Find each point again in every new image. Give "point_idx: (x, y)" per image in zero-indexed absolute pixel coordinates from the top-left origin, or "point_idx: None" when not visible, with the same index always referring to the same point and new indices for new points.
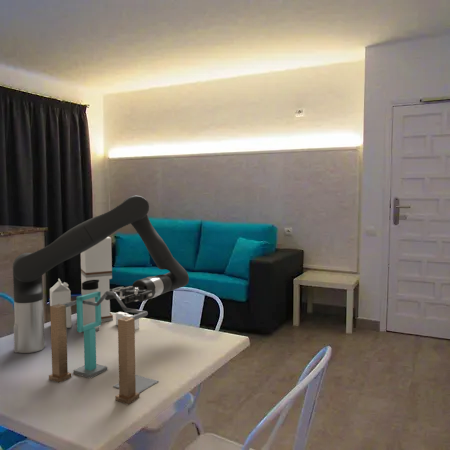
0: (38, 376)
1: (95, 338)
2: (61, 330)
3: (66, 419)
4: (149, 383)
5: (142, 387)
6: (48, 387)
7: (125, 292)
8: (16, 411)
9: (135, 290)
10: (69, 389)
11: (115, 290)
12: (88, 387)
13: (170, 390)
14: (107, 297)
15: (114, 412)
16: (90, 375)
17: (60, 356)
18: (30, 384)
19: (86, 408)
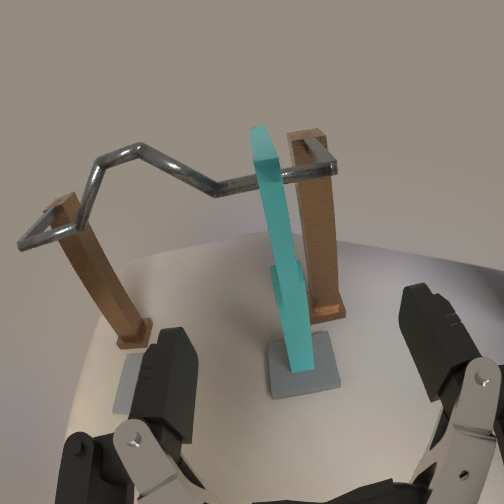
0: (369, 286)
1: (279, 314)
2: (299, 205)
3: (186, 265)
4: (123, 393)
5: (129, 374)
6: None
7: (377, 484)
8: (265, 238)
9: (171, 495)
10: (260, 300)
11: (479, 387)
12: (233, 324)
13: (81, 393)
14: (404, 315)
15: (136, 304)
16: (267, 344)
17: (306, 261)
18: (341, 268)
19: (180, 289)
